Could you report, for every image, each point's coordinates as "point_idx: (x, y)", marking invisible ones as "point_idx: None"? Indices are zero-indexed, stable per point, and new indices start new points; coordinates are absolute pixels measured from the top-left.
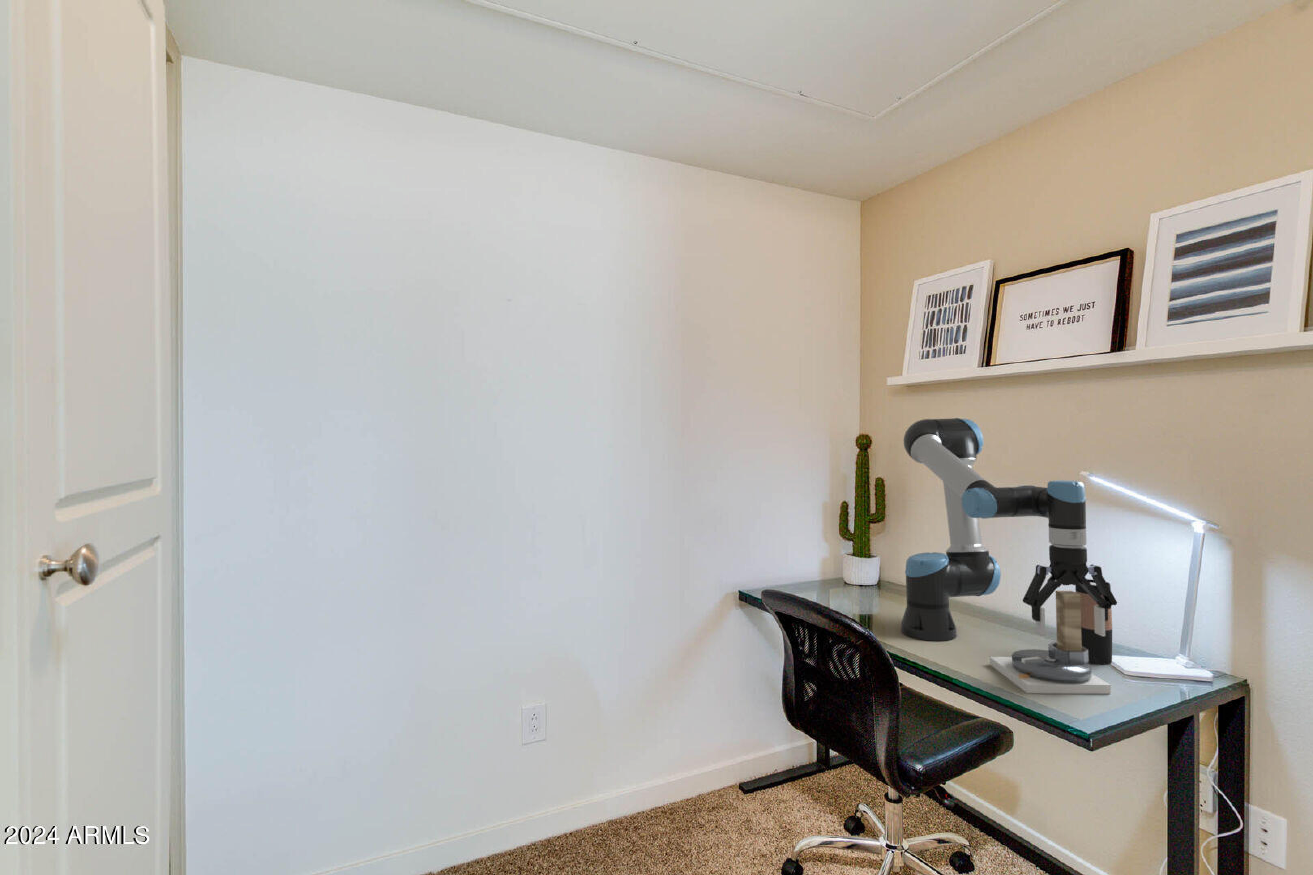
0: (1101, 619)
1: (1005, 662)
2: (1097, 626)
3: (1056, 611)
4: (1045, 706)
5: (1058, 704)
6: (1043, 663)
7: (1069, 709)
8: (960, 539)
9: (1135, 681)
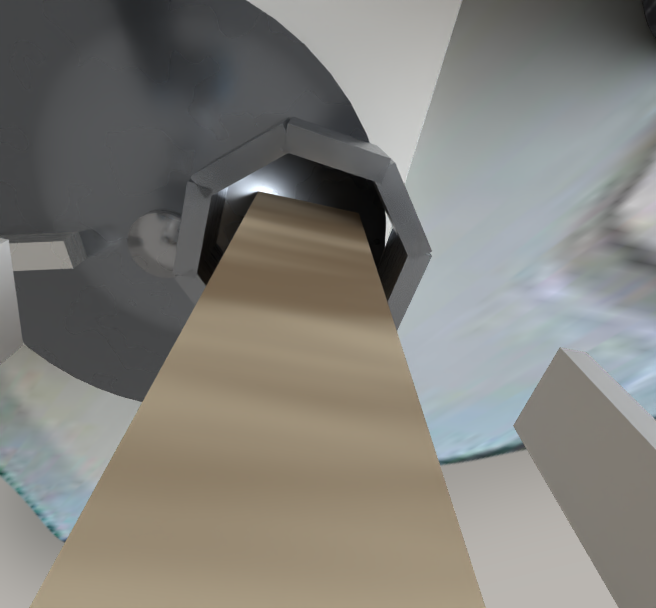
0: (599, 572)
1: None
2: (576, 435)
3: (128, 436)
4: (23, 414)
5: (79, 409)
6: (93, 275)
7: (95, 441)
8: None
9: (555, 295)
